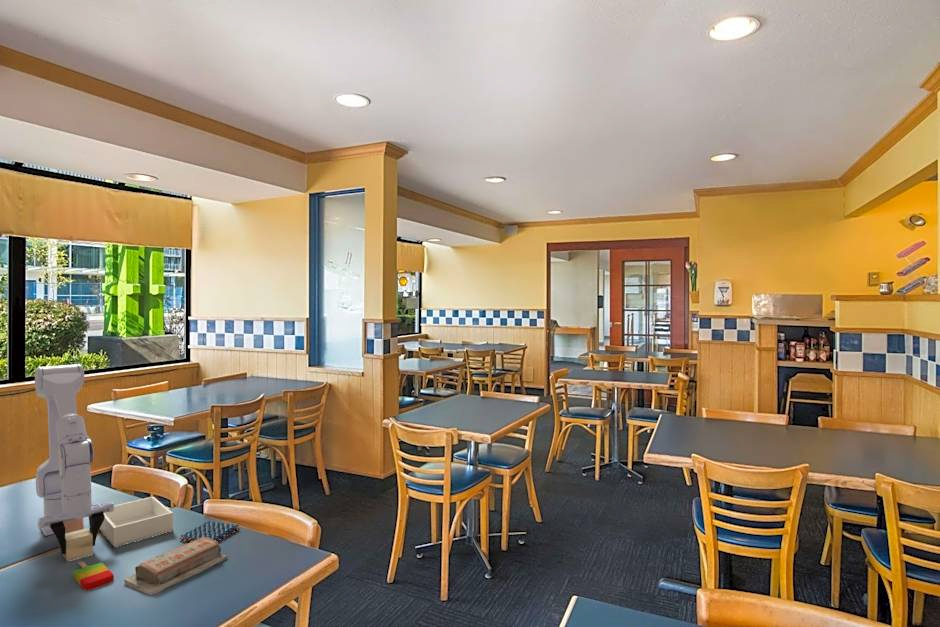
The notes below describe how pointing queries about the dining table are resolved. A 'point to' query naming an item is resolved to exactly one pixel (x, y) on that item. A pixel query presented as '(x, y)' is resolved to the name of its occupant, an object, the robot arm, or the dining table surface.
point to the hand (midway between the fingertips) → (78, 549)
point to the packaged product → (175, 565)
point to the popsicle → (93, 575)
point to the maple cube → (78, 544)
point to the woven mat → (210, 531)
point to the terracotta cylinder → (74, 525)
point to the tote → (136, 521)
